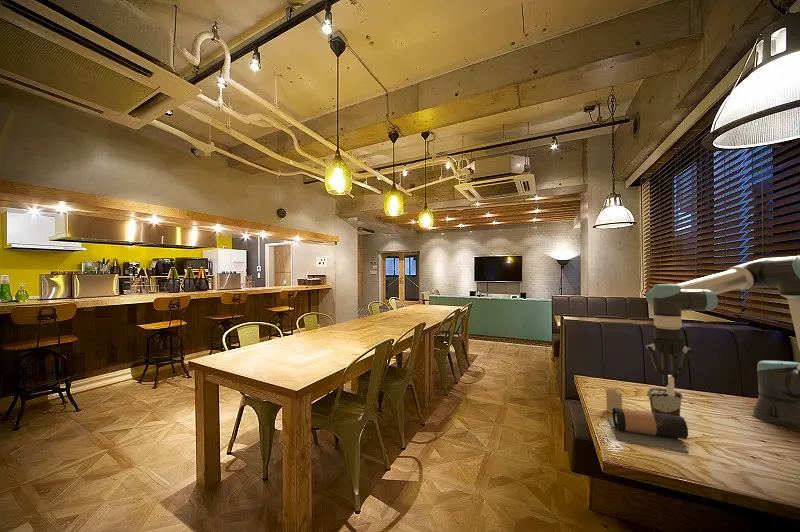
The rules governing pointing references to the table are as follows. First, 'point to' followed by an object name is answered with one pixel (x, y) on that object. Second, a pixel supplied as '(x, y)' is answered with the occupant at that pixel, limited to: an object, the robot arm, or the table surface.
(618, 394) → the candle
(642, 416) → the travel mug
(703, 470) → the table surface
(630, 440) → the mat
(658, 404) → the food container
